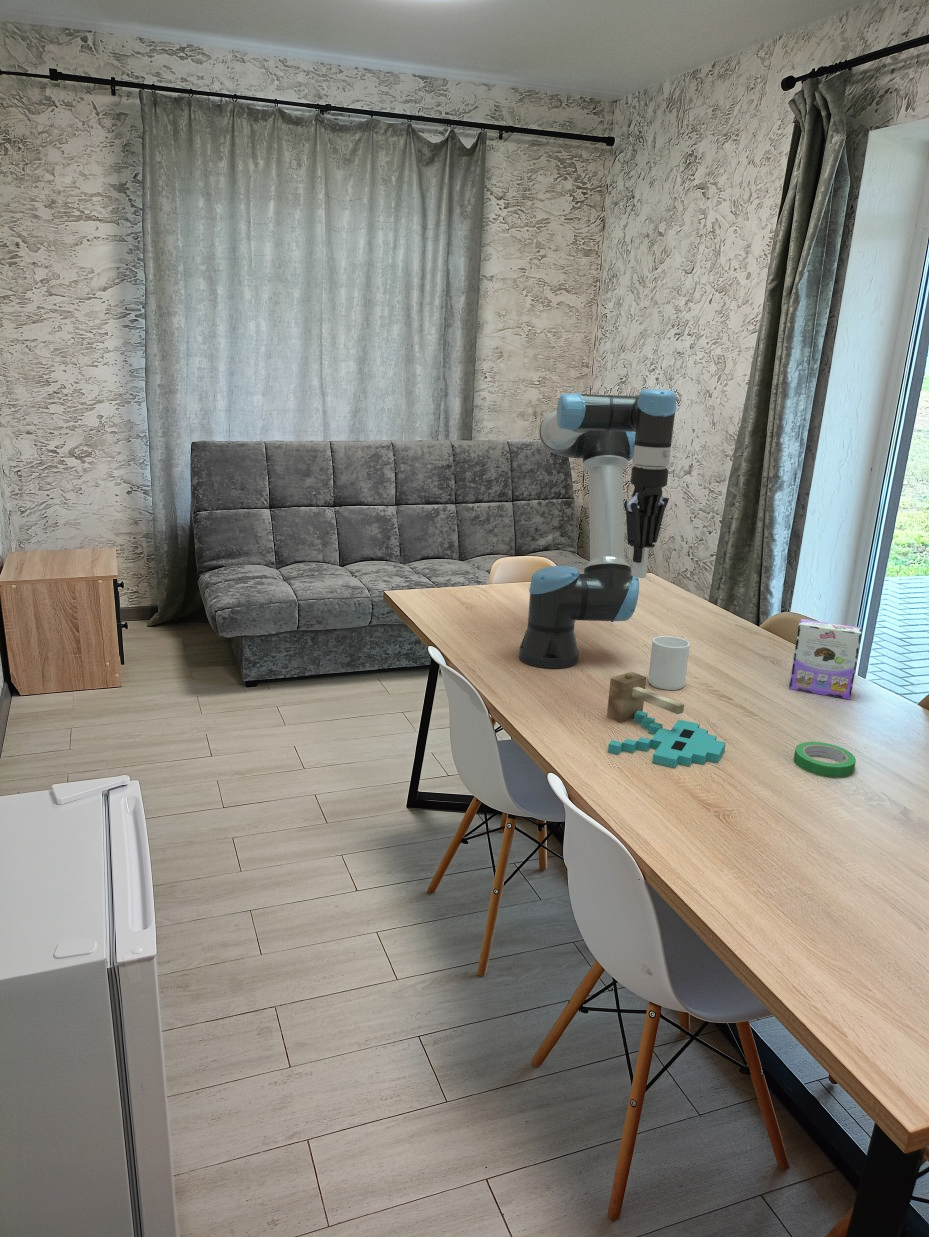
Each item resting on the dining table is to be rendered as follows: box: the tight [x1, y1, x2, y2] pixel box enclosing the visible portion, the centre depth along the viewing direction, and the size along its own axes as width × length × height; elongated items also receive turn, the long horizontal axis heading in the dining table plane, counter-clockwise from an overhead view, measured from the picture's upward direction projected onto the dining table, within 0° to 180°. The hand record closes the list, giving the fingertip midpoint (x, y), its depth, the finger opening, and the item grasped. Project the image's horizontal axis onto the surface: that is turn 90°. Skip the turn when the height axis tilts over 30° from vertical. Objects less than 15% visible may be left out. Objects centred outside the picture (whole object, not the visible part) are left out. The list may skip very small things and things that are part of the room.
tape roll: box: [793, 741, 857, 779], centre depth 176 cm, size 11×11×3 cm
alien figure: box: [607, 711, 726, 769], centre depth 182 cm, size 20×2×20 cm
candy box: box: [788, 618, 863, 700], centre depth 213 cm, size 14×6×16 cm, turn 65°
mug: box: [648, 635, 691, 691], centre depth 215 cm, size 9×12×11 cm
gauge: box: [606, 671, 685, 724], centre depth 189 cm, size 16×7×10 cm, turn 40°
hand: (638, 576), depth 195 cm, fingers closed
